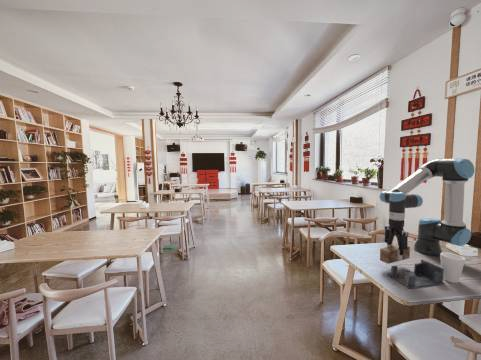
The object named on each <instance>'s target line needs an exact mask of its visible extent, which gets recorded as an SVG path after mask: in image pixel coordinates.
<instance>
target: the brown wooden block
mask: <svg viewBox="0 0 481 360" xmlns="http://www.w3.org/2000/svg"><path fill="white" fill-rule="evenodd" d="M398 249H399V246H398V244H395V245H394V244H393V246H389V247H387V246H385V247H381V248H380V250H379V251H380V252H379V253H380V254H379V260H380V261H381V262H383V263H385V264H388V265H389V264H392V263H393V264H394V263H397V262H400V261H404V260H407V259H410V256H411V253H410V251H411V247H410V245H408V247H407V249H406V250H404V254H403V255H402V260H397V252H398Z"/></svg>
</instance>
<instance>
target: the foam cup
mask: <svg viewBox="0 0 481 360" xmlns="http://www.w3.org/2000/svg"><path fill="white" fill-rule="evenodd" d="M439 258H440V267H441V268H444V274H443V281H446V282H449V283H452V284H453V283H454V284H458V283H459V282H460V279H461V276H462V273H463V269H464V266H465V264H466V258H465V257H464V256H463V255H459V254H456V253H451V252H442V253H440V255H439Z"/></svg>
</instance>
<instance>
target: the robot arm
mask: <svg viewBox="0 0 481 360" xmlns="http://www.w3.org/2000/svg"><path fill="white" fill-rule="evenodd" d="M474 174H475V166H474V164H473V162H472V161H471V160H470V159H467V158H459V157H458V158H437V159H433V160H430V161H427V162H425V163H424V164H421V165H420V166H419V167H417V168H416V171H415V172H413V173H412V174H410V176H408V177H407V178H405V179H404V180H402V181H401V182H400V183H399V184H397V185H396V186H394V187H393V188H392V189H389V191H388V190H384V191H382V192H381V193H380V194H379V200H380V201H381V202H382V203H384V204H388V206H389V207H388V225H387V226H384V241H383V242H384V243H385V244H387V246H386V247H389V246H394V244H393V241H394V239H395V238H396V239H397V245H398V246H399V249H398V252H397V260H401V261H403V260H402V255H403V254H404V250H406V249H407V247H408V246H409V245H408V236H409V232H407V231H405V229H404V227H405V218H406V213H405V212H406V209H413V208H419V207H421V206H423V202H424V201H423V197H422V196H420V195H419V194H409V193H411V191H413V190H414V189H415V188H417V187H419V186H420V185H421V184H422V183H424V182H425V181H426V180H431V179H432V178H434V177H435V178H436V177H441V178H442V181H443V182H444V183H445V184H444V185H445V187H444V188H445V189H444V211H443V212H444V213H443V214H444V215H443V216H444V217H443V220H441V219H438V218H420V219H419V221H418V230H417V239H416V241H415V242H414V245H413V249H414V250H415V251H416V252H417V253H421V254H424V255H428V256H429V255H430V256H439V257H440V253H443V250H442V246H441V243H440V241H441V242H443V243H448V244H450V245H453V246H457V247H463V246H465V245H467V244H468V243H469V241H470V239H471V237H472V231H471V229H469V228H467V223H465V222H464V206H465V205H464V203H465V200H464V199H465V184H466V183H467V182H469V179H471V178H472V177H473V176H474Z"/></svg>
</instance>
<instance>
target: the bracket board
mask: <svg viewBox="0 0 481 360" xmlns="http://www.w3.org/2000/svg"><path fill="white" fill-rule="evenodd" d="M413 268H414V269H413V270H412V271H405V272H398V266H397V265H392V266H391V270H390V273H388V274H386V276H388V277H389V278H390V279H392V280H394V281H396V282H397V283H398V284H401V285H403V286H404V287H406V288H408V289H410V290H411V289H417V288H424V287H430V286H431V287H432V286H438V285H439V286H440V285H445V284H446V283H445V282H444V279H443V274H444V268H441V266H438V265H436V264H434V263H433V262H432V263H431V262H430V261H427V260H424V259H420V262H419V263H418V262H417V263H414V267H413Z"/></svg>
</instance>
